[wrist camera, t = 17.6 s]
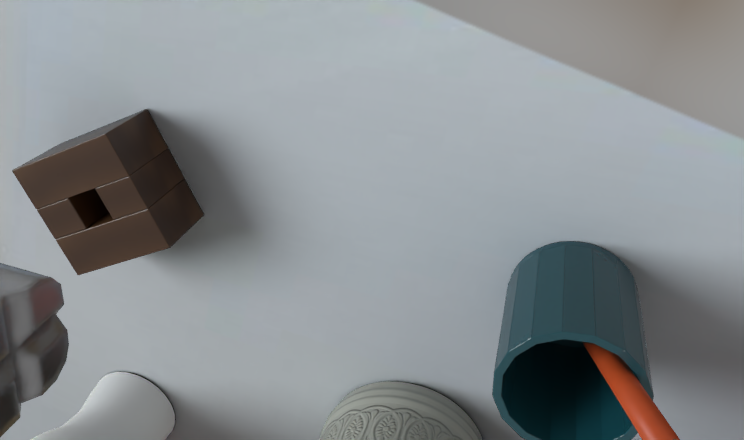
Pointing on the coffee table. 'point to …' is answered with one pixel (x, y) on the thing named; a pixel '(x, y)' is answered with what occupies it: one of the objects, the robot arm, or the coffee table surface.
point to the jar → (398, 415)
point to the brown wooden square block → (111, 194)
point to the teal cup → (568, 344)
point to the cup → (119, 412)
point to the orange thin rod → (631, 395)
